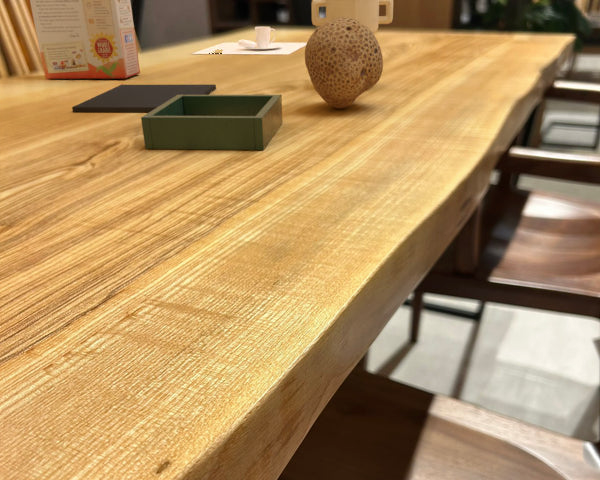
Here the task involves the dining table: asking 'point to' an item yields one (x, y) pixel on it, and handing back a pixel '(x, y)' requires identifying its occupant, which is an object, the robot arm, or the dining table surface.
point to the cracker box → (86, 38)
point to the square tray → (213, 122)
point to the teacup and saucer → (255, 45)
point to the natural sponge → (343, 61)
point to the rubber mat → (139, 97)
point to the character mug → (354, 11)
